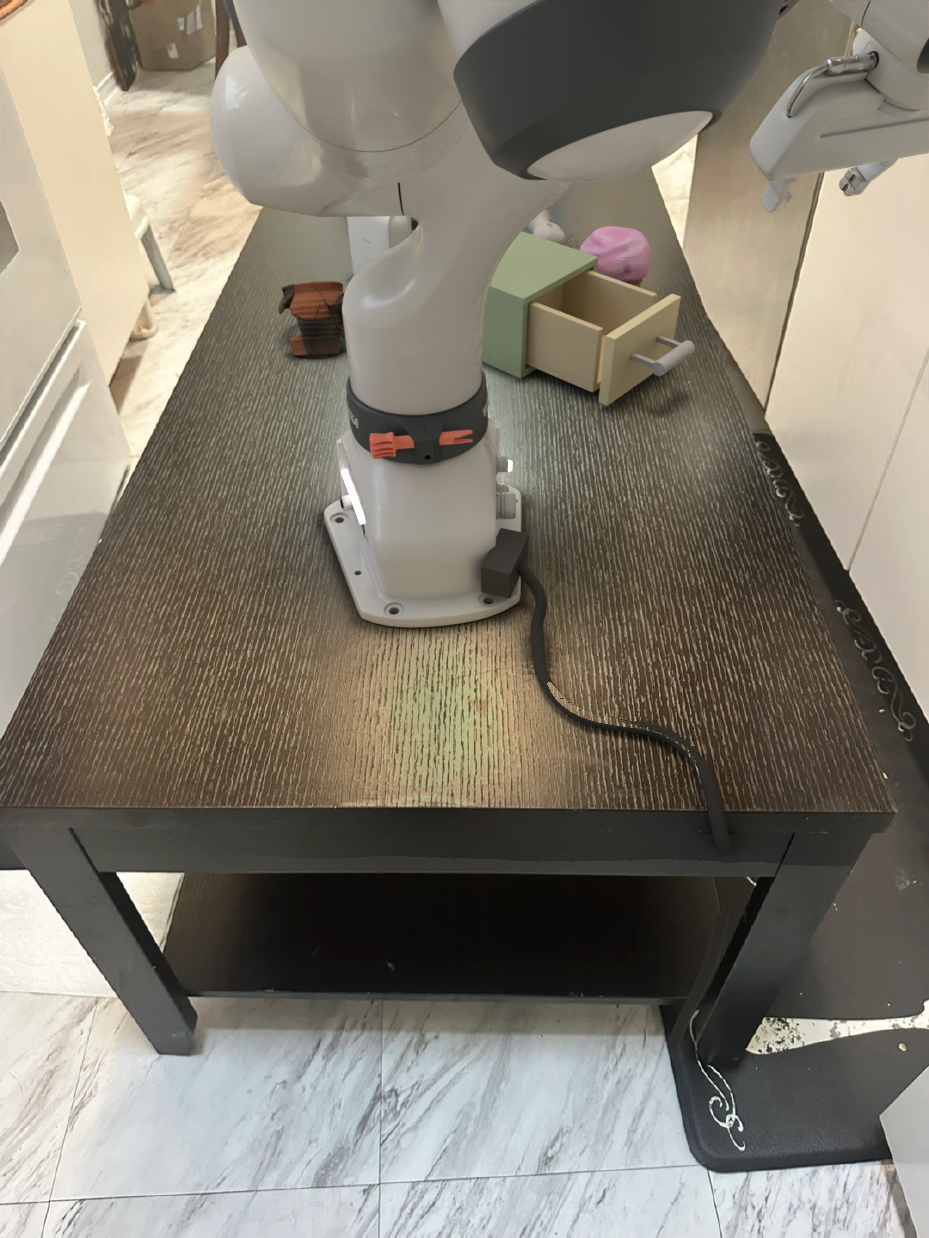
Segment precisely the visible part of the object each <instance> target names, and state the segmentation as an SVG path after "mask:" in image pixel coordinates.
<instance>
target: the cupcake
mask: <svg viewBox="0 0 929 1238" xmlns="http://www.w3.org/2000/svg"><path fill="white" fill-rule="evenodd" d="M579 251H582V252H585V253H588V254H591V255H594V256H597V257H599V258H598V268H597V273H599V274H602V275H605V276H608V277H611V278H614V279H617V280H619V281H622V282H625V283H628V284H631V285H634V286H637V287H639V288H641V285H642V282H643V279H644V278H646V277H647V276H648V274H649V272H650V267H651V259H652V254H651V253H652V251H651V247H650V244H649V242H648V240H647V238H646V236H645V235H644V234H643V233H642V232H641V231H639V230H638V229H635V228H631V227H621V226H617V225H616V226H615V225H614V226H613V225H611V226H610V225H608V226H602V227H599V228H597V229H595V230H593V232H592V233H591V234H589V235H588V237H587V238H586V239H585V240H584V241H583V242H582V244H581V245H580V247H579Z"/></svg>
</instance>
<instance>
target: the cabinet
mask: <svg viewBox="0 0 929 1238" xmlns="http://www.w3.org/2000/svg"><path fill="white" fill-rule="evenodd" d="M598 258H599V257H597V256H594V255H591V254H588V253H585V252H582V251H579V250H578V249H576V248H573V247H570V246H567V245H565V244H564V245H561V244H558V243H555V242H552V241H550V240H547V239H544V238H541V237H538V236H535V235H532V234H529V233H528V232H527V231H524V230H522V231H521V232H520V234H519V235H518V236H517V237H516V239H515V240H514V241H513V242H512V244H511V245H510V246H509V248H508V249H507V251H506V253H505V254H504V256H503V257H502V259H501V261H500V263H499V265H498V266H497V269H496V271H495V273H494V276H493V278H492V281H491V284H490V287H489V291H488V295H487V300H486V307H485V316H484V326H483V340H482V363H484V364H486V365H488V366H490V367H493V368H495V369H497V370H500V371H501V372H504V373H506V374H509V375H511V376H513V377H515V378H517V379H520V380H521V379H523V378H524V377H526V376H527V375H529V374H531V373H533V372H535V370H538V369H537V368H534V367H532V366H530V365H527V364H525V361H526V336H527V312H528V304H527V303H529V302H531V301H533V300H535V299H536V298H538V297H540V296H542V295H543V294H545V293H547V292H549V291H551V290H552V289H554V288H556V287H558V286H559V285H561V284H563V283H565V282H567V281H568V280H570V279H572V278H574V277H575V276H577V275H579V274H581V273H582V272H584V271H586V270H591V271H594V272H597V268H598Z"/></svg>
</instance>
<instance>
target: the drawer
mask: <svg viewBox="0 0 929 1238" xmlns="http://www.w3.org/2000/svg"><path fill="white" fill-rule="evenodd" d="M681 299H682V296H681V295H677V294H676V293H670V294H669V295H667V296H665V297H664V298H662V299H661V300H659V301H657V300H658V293H656V292H653V291H651V290H648V289H645V288H642V287H640V288H639V287H637V286H634V285H631V284H628V283H625V282H622V281H619V280H617V279H614V278H611V277H608V276H605V275H602V274H599V273H597V272H594V271H591V270H586V271H584V272H582V273H581V274H579V275H577V276H575V277H574V278H572V279H570V280H568V281H567V282H565V283H563V284H561V285H559V286H558V287H556V288H554V289H552V290H551V291H549V292H547V293H545V294H543V295H542V296H540V297H538V298H536V299H535V300H533V301H531V302H529V303H527V304H528V312H527V336H526V361H525V364H527V365H530V366H532V367H534V368H537V369H536V370H538V371H542V372H544V373H546V374H548V375H550V376H553V377H556V378H557V379H560V380H562V381H565V382H567V383H569V384H572V385H574V386H576V387H578V388H581V389H583V390H585V391H588V392H590V393H595V392H596V391H597V390H598V389H599V393H598V403H600V404H602V405H604V406H606V407H608V406H609V405H611V404H612V403H614V402H615V401H616V400H618V399H619V398H620V397H622V396H623V395H625V394H626V393H628V392H629V391H631V390H632V389H633V388H634V387H636V386H637V385H639V384H640V383H642V382H643V381H645V380H646V379H647V378H649V377H650V376H651V375H653V374H654V375H655V376H656V377H661V376H664V375H665V374H667V373H668V372H669V371H670V370H672V369H674V368H675V367H676V366H678V365H679V364H680V363H682V362H684V361H685V360H686V359H688V358H689V357H690V356H692V355H693V354H694V353H695V351H696V346H695V343H694V342H693V341H691V340H688V339H687V340H684V341H682V342H679V341H677V340H675V334H676V328H677V323H678V321H677V320H678V317H679V312H680V311H679V310H680V306H681Z"/></svg>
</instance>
